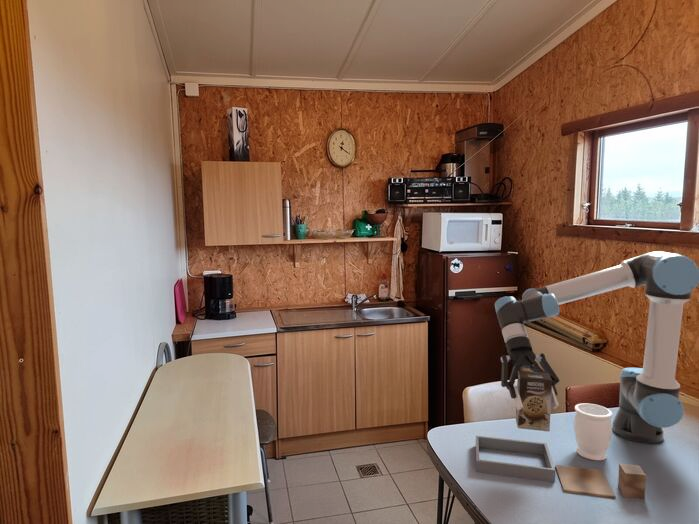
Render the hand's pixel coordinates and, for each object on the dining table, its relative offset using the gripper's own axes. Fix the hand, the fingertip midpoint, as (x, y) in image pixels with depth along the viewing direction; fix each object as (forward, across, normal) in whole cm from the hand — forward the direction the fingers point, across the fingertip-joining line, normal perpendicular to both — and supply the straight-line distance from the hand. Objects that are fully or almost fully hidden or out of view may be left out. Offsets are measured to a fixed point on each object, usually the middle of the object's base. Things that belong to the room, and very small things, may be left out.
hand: (538, 407), depth 134 cm
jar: (+9, -22, -20) cm, 32 cm away
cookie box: (+3, 0, -7) cm, 8 cm away
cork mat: (+19, -11, -10) cm, 24 cm away
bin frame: (+10, +5, -18) cm, 22 cm away
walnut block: (+23, -21, -6) cm, 32 cm away
